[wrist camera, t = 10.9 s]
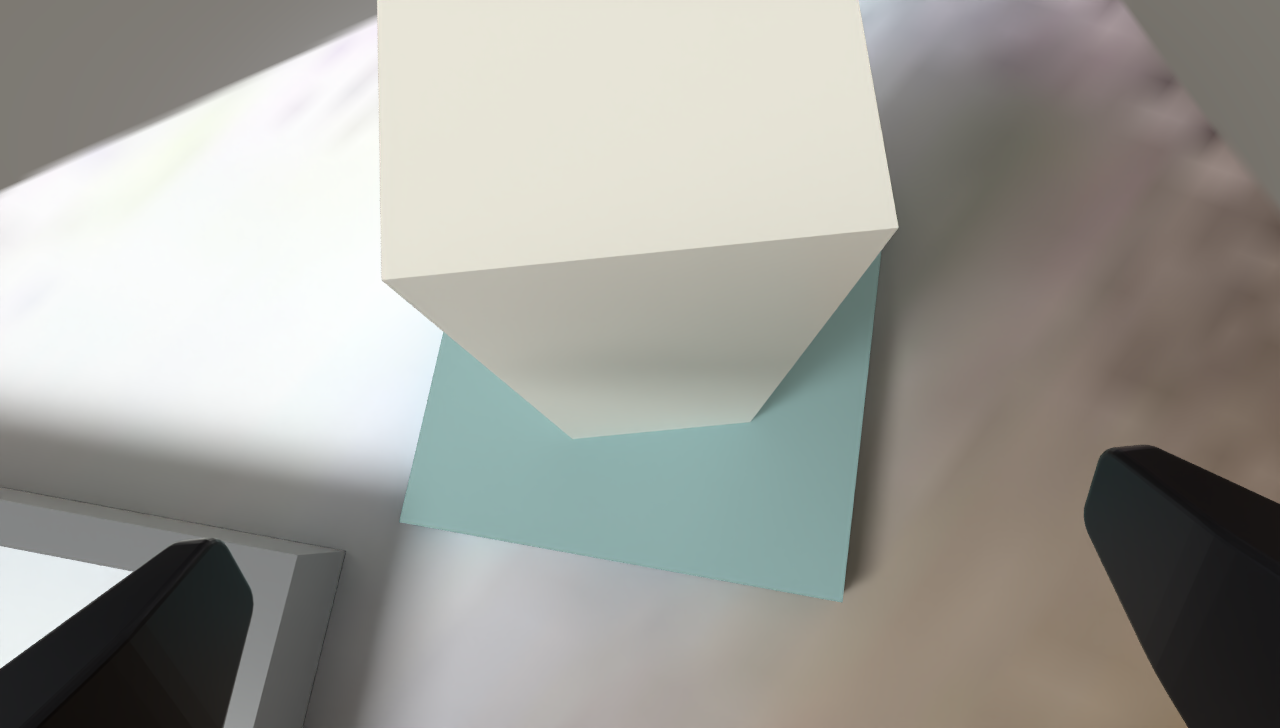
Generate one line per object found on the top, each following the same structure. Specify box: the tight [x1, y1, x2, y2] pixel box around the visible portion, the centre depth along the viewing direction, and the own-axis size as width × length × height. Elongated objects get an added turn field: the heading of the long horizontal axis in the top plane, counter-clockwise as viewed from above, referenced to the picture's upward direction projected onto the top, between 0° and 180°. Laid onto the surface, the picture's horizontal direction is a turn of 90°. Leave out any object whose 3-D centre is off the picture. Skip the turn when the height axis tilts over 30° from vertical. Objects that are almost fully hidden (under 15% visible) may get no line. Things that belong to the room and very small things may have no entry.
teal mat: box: [399, 250, 882, 602], centre depth 19 cm, size 11×11×1 cm
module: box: [377, 0, 899, 439], centre depth 13 cm, size 4×4×12 cm
